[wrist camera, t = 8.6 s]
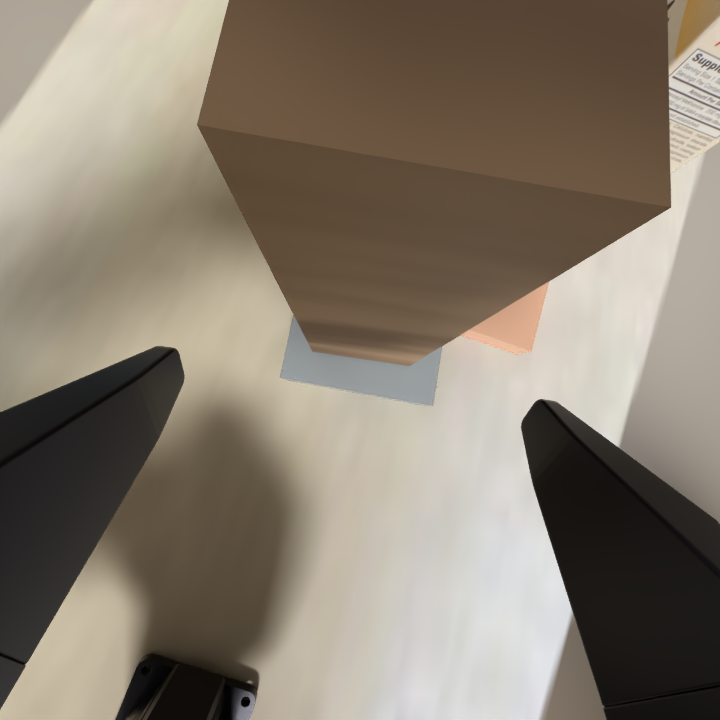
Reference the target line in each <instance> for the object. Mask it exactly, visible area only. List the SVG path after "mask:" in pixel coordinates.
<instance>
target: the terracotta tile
mask: <svg viewBox="0 0 720 720" xmlns="http://www.w3.org/2000/svg"><path fill="white" fill-rule="evenodd" d="M548 283H549V282H547V283H545V284H544V285H542V286H541V287H539V288H537V289H536V290H534V291H532V292H531V293H529V294H527V295H526V296H524V297H522V298H521V299H519V300H517V301H516V302H514V303H512V304H511V305H509V306H508V307H506V308H504V309H503V310H501V311H499V312H498V313H496V314H494V315H493V316H491V317H489V318H488V319H486V320H484V321H483V322H481V323H479V324H478V325H476V326H475V327H473V328H471V329H470V330H468V331H466V332H465V333H463V334H461V335H460V336H463V337H466V338H469V339H472V340H475V341H478V342H481V343H484V344H487V345H490V346H493V347H496V348H499V349H502V350H504V351H507V352H510V353H513V354H516V355H517V354H521V353H525V352H529V351H532V347H533V343H534V339H535V335H536V331H537V327H538V323H539V319H540V315H541V311H542V307H543V303H544V299H545V295H546V291H547V287H548Z"/></svg>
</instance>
